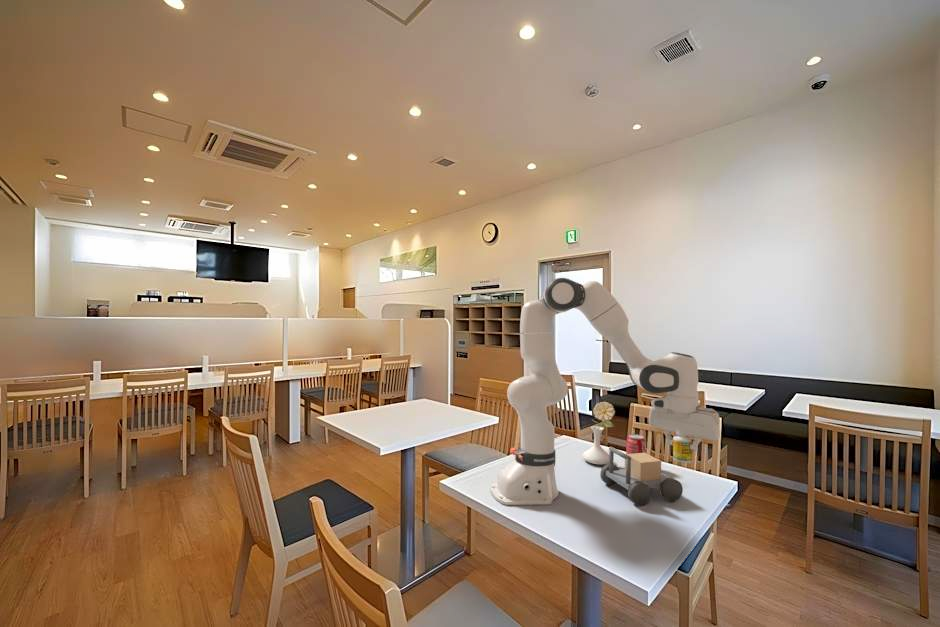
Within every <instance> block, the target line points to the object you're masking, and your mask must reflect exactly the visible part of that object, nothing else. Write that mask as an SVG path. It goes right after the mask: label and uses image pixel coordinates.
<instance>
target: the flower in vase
mask: <svg viewBox="0 0 940 627" xmlns="http://www.w3.org/2000/svg"><path fill="white" fill-rule="evenodd" d="M592 412H593V415H594V418H596V419H597V420H600V421H601V424H599V426H597V425H594V426H591V427H590V428H591V430H592V431H593V437H594V438H593V439H594V440H593V446H592V447H590V448H589V449H586V450H585V451H584V453H583V454H582V459H583V460H584V461H585V462H588V463H590V464H594V465H600V466H601V465H603V466H604V465H606V464H609V452H607V451H606V450H605V449H604V448H602V445H601V435H602V433H603V431H604V430H605V428H604V427H602V425H604V426H605V427H606V428H612V427H615V425H614V424H613V423H612V422H611V421H610V420H612V418H613V417H614V416H615V414H616V410H615V408H614V405H612V404H611V403H609V402H606V401H603V402H602V401H600V402H598V403H596V405H594V408H593V411H592ZM592 422H594V423H596V424H598V422H597V421H595V420H594V419H592Z"/></svg>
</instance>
